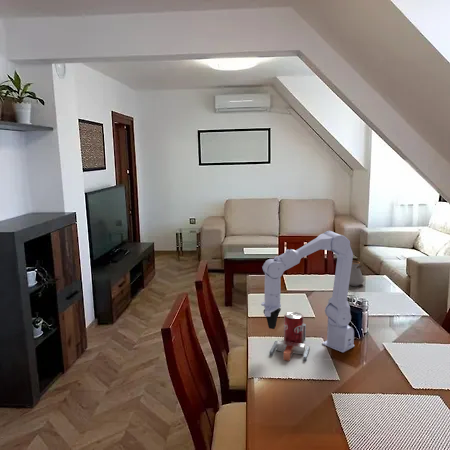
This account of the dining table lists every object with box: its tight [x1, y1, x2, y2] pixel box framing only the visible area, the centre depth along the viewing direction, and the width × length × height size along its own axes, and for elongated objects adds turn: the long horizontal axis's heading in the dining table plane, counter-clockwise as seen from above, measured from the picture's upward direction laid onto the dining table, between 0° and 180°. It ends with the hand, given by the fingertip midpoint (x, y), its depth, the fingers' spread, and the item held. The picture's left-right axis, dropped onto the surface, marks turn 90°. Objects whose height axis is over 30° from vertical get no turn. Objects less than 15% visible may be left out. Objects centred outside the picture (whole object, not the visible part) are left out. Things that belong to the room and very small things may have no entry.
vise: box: [269, 323, 311, 362], centre depth 156 cm, size 18×13×6 cm
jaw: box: [276, 339, 306, 362], centre depth 150 cm, size 9×10×3 cm
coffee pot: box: [349, 260, 365, 287], centre depth 225 cm, size 21×12×15 cm, turn 175°
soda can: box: [283, 311, 304, 344], centre depth 157 cm, size 7×7×12 cm
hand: (272, 328), depth 150 cm, fingers closed
